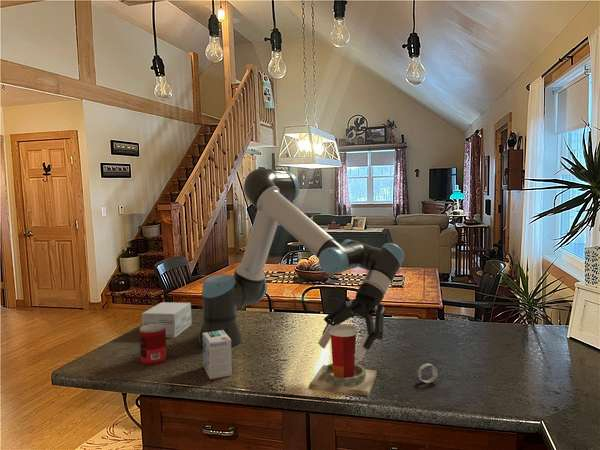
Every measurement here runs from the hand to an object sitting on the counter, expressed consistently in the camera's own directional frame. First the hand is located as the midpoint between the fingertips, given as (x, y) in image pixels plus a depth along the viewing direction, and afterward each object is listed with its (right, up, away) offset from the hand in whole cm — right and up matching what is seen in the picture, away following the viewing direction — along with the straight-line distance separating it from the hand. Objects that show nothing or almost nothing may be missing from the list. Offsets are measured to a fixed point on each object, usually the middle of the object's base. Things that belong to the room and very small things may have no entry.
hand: (338, 352), depth 121 cm
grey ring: (+25, -9, +1) cm, 26 cm away
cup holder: (+2, -9, +2) cm, 9 cm away
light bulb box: (-35, -9, +11) cm, 38 cm away
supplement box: (-62, -7, +53) cm, 82 cm away
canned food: (-57, -9, +21) cm, 62 cm away
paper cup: (+2, -8, +2) cm, 8 cm away
